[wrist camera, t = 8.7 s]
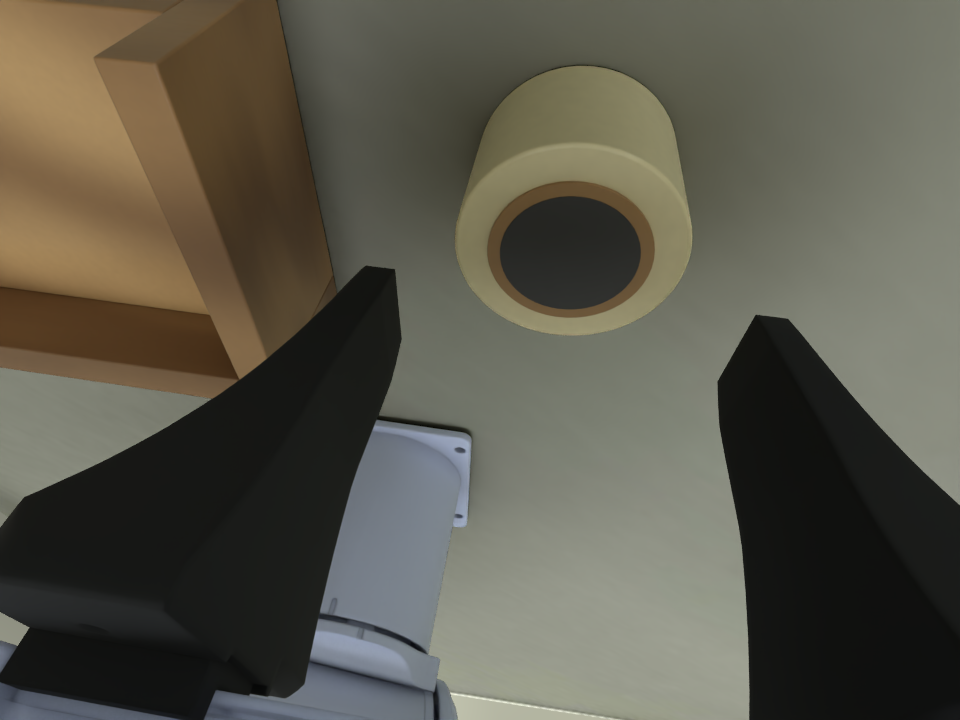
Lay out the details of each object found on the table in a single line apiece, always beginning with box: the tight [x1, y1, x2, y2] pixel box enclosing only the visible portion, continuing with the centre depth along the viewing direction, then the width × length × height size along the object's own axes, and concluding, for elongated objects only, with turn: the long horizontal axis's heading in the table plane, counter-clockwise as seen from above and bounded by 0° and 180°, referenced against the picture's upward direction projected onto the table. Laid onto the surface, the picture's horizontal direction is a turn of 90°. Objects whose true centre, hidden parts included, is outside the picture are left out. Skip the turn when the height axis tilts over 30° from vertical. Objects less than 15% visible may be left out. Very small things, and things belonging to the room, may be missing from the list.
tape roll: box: [455, 66, 693, 336], centre depth 14 cm, size 5×5×4 cm
